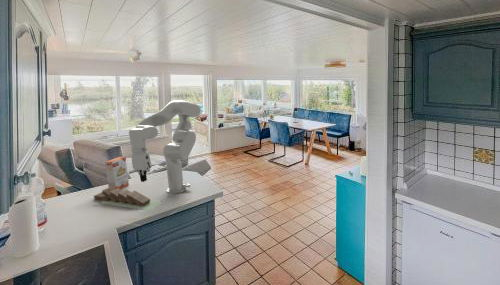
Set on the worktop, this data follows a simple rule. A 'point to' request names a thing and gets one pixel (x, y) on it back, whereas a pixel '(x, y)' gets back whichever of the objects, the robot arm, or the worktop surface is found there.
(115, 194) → the domino
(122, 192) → the domino
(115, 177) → the cracker box
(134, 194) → the domino
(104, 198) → the domino
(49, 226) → the worktop surface
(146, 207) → the mat
